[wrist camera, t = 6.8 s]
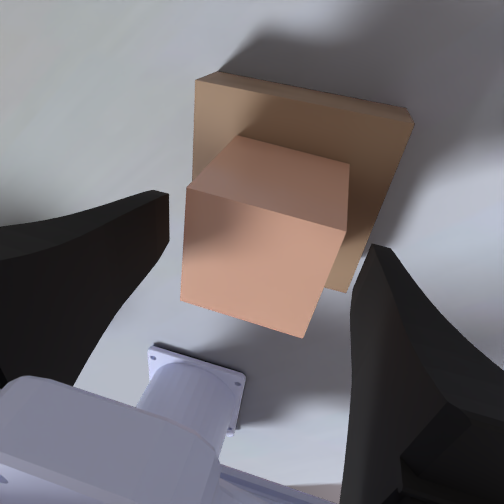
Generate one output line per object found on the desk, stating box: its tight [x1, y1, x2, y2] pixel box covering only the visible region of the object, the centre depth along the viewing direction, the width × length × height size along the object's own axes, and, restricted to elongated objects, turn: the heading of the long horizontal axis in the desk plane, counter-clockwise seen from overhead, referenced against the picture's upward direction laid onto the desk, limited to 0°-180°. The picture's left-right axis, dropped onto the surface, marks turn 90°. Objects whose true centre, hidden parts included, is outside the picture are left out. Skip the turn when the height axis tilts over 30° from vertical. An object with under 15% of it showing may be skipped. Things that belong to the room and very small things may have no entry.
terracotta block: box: [180, 135, 350, 339], centre depth 13 cm, size 4×4×5 cm
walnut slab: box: [192, 71, 415, 293], centre depth 16 cm, size 8×8×3 cm
